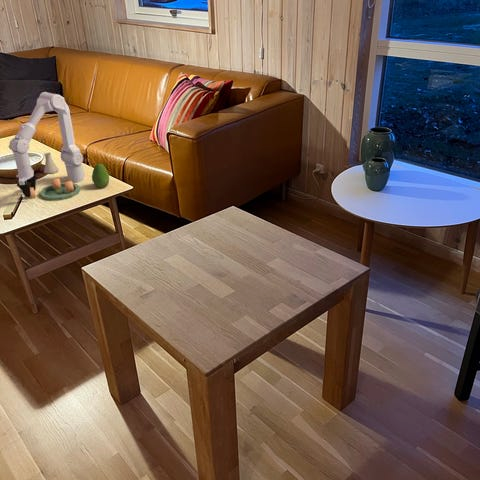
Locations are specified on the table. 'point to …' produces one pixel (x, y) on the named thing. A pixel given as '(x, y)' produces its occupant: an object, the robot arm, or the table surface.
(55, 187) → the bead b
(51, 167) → the flask
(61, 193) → the tray
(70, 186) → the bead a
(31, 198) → the pale orange egg
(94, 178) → the avocado
